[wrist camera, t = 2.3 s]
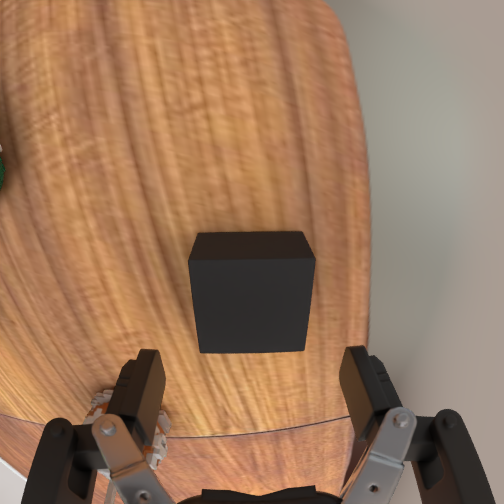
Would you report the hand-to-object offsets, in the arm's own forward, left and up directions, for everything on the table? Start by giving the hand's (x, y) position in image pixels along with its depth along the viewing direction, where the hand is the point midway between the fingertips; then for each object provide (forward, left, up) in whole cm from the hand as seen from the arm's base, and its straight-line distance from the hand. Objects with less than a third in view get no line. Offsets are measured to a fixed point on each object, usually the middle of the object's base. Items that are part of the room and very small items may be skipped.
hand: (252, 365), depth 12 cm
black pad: (0, 0, -7) cm, 7 cm away
